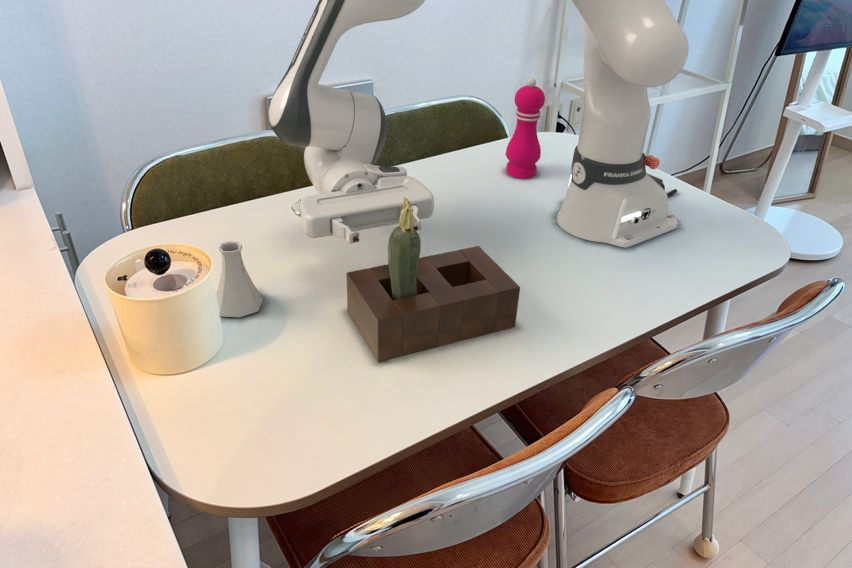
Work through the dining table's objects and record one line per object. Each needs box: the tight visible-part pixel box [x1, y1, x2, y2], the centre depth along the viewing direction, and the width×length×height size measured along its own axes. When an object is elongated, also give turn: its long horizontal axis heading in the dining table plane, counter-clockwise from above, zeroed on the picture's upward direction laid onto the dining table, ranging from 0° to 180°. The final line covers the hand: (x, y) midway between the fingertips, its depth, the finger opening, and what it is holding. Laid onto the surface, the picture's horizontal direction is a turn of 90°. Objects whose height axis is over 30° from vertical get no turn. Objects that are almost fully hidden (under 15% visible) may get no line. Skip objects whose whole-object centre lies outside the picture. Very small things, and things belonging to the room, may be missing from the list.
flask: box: [216, 240, 264, 318], centre depth 100 cm, size 7×7×10 cm
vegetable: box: [387, 197, 422, 300], centre depth 95 cm, size 4×4×20 cm
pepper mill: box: [505, 77, 546, 180], centre depth 142 cm, size 7×7×20 cm
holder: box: [346, 245, 521, 363], centre depth 100 cm, size 21×12×7 cm, turn 114°
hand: (385, 232), depth 99 cm, fingers open, 8 cm apart
